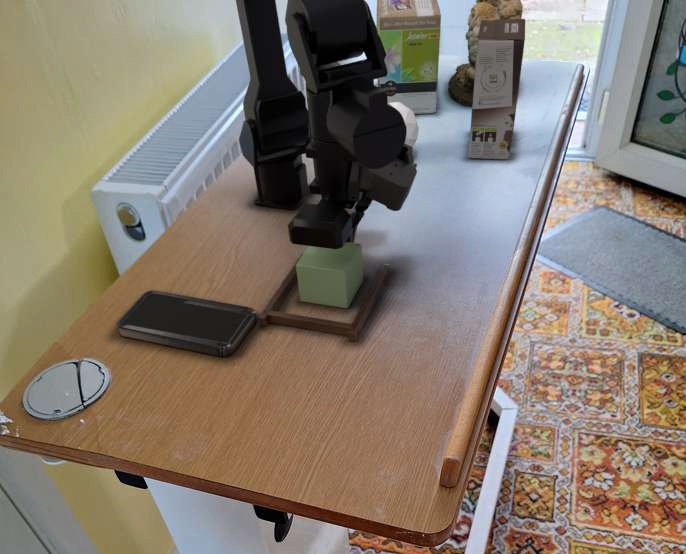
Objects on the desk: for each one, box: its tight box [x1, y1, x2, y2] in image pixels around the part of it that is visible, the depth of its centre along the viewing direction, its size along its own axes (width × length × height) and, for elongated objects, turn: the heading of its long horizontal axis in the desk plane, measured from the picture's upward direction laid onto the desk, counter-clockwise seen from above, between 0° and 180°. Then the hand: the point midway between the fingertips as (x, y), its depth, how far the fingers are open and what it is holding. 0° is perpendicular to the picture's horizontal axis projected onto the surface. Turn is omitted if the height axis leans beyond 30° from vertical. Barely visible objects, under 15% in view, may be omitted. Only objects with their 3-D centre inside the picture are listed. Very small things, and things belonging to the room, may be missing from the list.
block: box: [295, 242, 364, 309], centre depth 79 cm, size 6×6×5 cm
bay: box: [258, 252, 391, 342], centre depth 80 cm, size 12×14×1 cm
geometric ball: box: [388, 102, 420, 148], centre depth 101 cm, size 8×8×8 cm
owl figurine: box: [447, 0, 524, 107], centre depth 113 cm, size 18×12×17 cm, turn 170°
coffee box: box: [467, 18, 526, 160], centre depth 98 cm, size 9×6×16 cm
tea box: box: [376, 0, 442, 115], centre depth 113 cm, size 15×10×15 cm
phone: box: [116, 289, 258, 357], centre depth 78 cm, size 8×1×15 cm
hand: (346, 259), depth 83 cm, fingers closed
